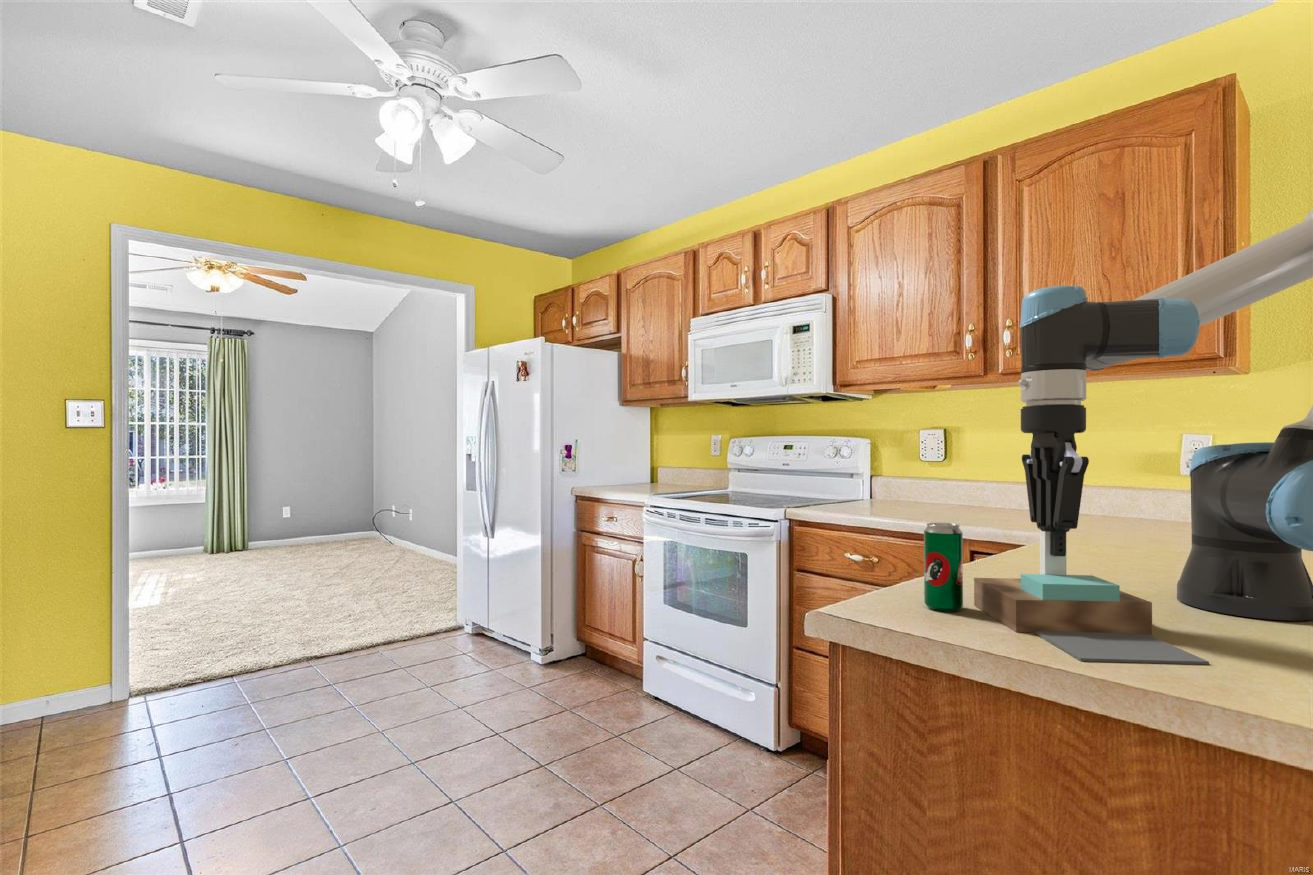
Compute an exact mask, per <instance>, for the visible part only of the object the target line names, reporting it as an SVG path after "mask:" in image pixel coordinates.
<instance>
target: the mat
mask: <svg viewBox="0 0 1313 875" xmlns="http://www.w3.org/2000/svg"><path fill="white" fill-rule="evenodd" d="M1034 634H1035V635H1036V636H1038V637H1040V638H1042V639H1043V640H1045V642H1046V641H1047V642H1048V643H1049V644H1051V645H1053V646H1055V647H1057V648H1058V649H1060V650H1062V651H1063V652H1064V653H1067V654H1068V655H1070V656H1072V657H1073V658H1075V659H1077V660H1078V661H1080V662H1101V663H1103V662H1104V663H1105V662H1106V663H1107V662H1108V663H1134V664H1135V663H1137V664H1139V663H1141V664H1175V665H1178V664H1179V665H1180V663H1181V665H1210V662H1209V661H1208V660H1206V659H1205V658H1204V659H1203V657H1202V658H1201V657H1199V656H1197V655H1195V654H1193V653H1191V652H1188V651H1187V650H1184V649H1182V648H1179V647H1177V646H1175V645H1172V644H1170V643H1169V642H1166V641H1163V640H1161V639H1159V638H1158V637H1155V636H1153V635H1148V634H1141V633H1097V632H1053V631H1035V632H1034Z"/></svg>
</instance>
